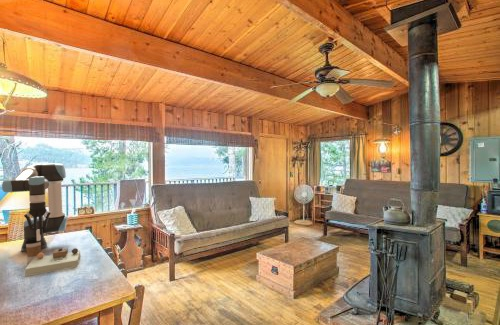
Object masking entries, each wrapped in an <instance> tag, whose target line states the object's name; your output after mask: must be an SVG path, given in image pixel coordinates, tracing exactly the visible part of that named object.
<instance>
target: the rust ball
mask: <svg viewBox="0 0 500 325" xmlns="http://www.w3.org/2000/svg"><path fill="white" fill-rule="evenodd" d="M43 256H45V253H44V252H40V253H39V254H37V258H42V257H43Z"/></svg>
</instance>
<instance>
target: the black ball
mask: <svg viewBox="0 0 500 325" xmlns="http://www.w3.org/2000/svg"><path fill="white" fill-rule="evenodd" d="M78 249H79V248H76V247H75V248H72V249H71V252H72V253H73V254H76V253H77V252H78V251H79V250H78Z"/></svg>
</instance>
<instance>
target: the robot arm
mask: <svg viewBox="0 0 500 325" xmlns="http://www.w3.org/2000/svg"><path fill="white" fill-rule="evenodd" d="M66 177H67V176H66V168H65V166H64V164H63V163H56V162H55V163H36V164H32V165H29V166H26V167H25V168H23V169H22V170H21V171H20V173H19V174H18V175H17V176H15V177H14V178H13V179H7V180H3V181H2V183H1V189H2V191H3V193H21V192H29V193H28V194H29V198H28V199H29V202H30V203H29V211H28V212H27V213H26V214H24V215H23V216H24V218H25V220H24V222H23V242H22V244H21V247H20V248H21V249H20V250H21V252H26V253H27V250H26V244H25V242H26V240H27V239H29V238H35V237H37V241H40V240H42V241H41V250H43V249H45V248H47V247H48V243H47V241H46V239H45V234H51V233H60V232H64V231H65V230H66V229H67V224H68V216H67V215H66V214H65V212H63V196H62V192H63V191H62V182H64V179H65V178H66ZM46 190H47V200H48V201H47V202H48V210H47V208H46V207H47V206H46ZM44 215H45V217H44ZM30 216H31V217H30Z"/></svg>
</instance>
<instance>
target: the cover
mask: <svg viewBox="0 0 500 325" xmlns="http://www.w3.org/2000/svg"><path fill="white" fill-rule="evenodd" d="M67 253H69V252H68V247H64V248H57V249H54V250H53V252H52V255H53V258H54V257H60V256H66V255H67Z"/></svg>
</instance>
